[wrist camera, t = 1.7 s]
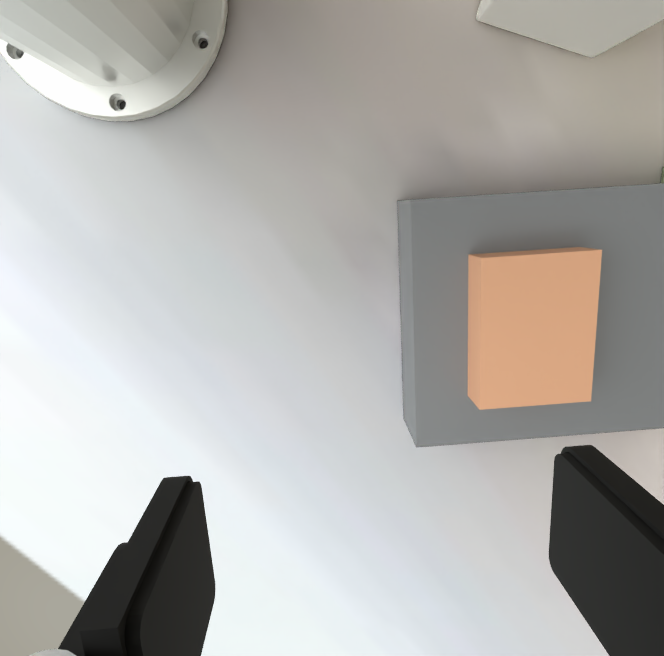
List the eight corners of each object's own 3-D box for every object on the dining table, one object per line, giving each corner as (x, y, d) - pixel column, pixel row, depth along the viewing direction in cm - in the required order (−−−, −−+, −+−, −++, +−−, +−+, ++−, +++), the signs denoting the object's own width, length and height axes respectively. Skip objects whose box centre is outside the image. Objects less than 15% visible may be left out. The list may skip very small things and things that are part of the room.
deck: (397, 201, 28) (410, 199, 24) (660, 184, 29) (715, 179, 25) (403, 418, 32) (416, 447, 28) (639, 400, 32) (684, 426, 28)
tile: (468, 254, 25) (481, 258, 23) (579, 246, 25) (601, 249, 23) (467, 395, 27) (479, 409, 25) (571, 387, 27) (591, 401, 25)
